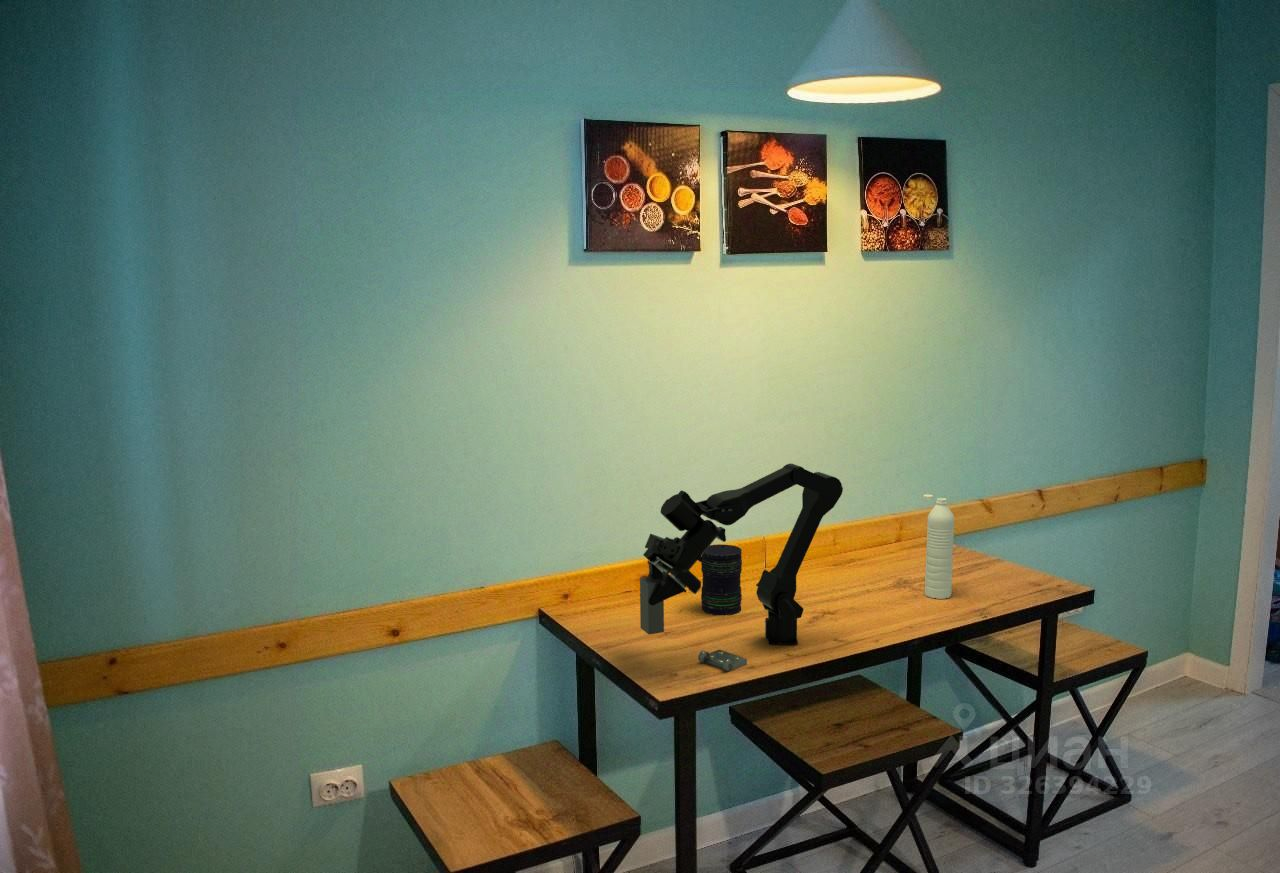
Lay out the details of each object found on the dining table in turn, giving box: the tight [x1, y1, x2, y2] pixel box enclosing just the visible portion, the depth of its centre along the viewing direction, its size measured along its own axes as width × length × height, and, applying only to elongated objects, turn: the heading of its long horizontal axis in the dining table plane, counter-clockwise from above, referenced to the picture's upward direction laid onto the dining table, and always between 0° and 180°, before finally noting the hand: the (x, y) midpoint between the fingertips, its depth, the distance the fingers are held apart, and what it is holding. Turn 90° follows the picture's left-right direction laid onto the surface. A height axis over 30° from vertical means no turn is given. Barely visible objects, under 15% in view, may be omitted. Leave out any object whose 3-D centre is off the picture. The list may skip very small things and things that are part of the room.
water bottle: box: [922, 494, 955, 600], centre depth 270 cm, size 9×6×25 cm
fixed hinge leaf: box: [697, 649, 748, 672], centre depth 226 cm, size 7×8×2 cm
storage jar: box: [700, 544, 743, 617], centre depth 260 cm, size 10×10×15 cm
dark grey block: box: [639, 576, 665, 635], centre depth 226 cm, size 4×4×11 cm
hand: (645, 600), depth 226 cm, fingers closed on dark grey block, 4 cm apart
